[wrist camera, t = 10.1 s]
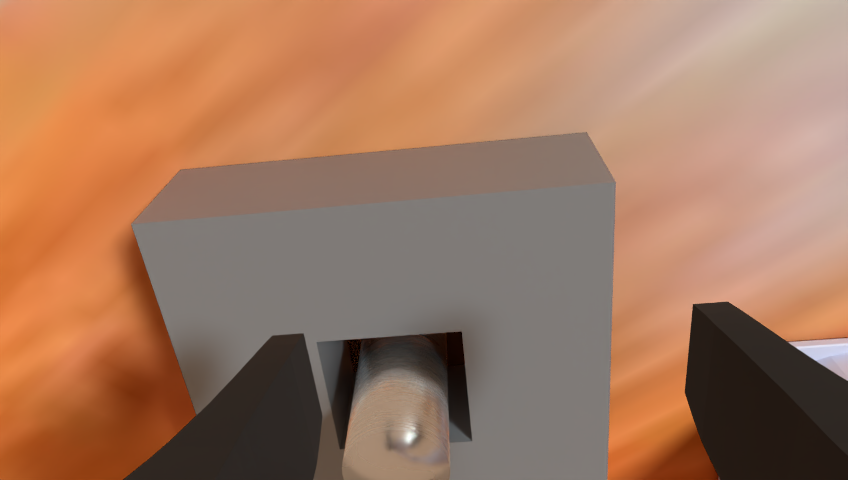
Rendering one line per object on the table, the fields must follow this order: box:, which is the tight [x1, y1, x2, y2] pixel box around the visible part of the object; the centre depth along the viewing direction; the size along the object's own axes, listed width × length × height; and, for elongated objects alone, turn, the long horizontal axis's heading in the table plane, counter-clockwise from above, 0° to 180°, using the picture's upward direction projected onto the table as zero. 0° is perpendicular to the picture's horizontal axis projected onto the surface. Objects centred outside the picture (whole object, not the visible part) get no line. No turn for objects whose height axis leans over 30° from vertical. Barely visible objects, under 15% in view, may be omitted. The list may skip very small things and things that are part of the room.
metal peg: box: [342, 333, 450, 480], centre depth 22 cm, size 3×3×7 cm
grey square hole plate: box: [131, 132, 616, 480], centre depth 23 cm, size 13×13×4 cm
